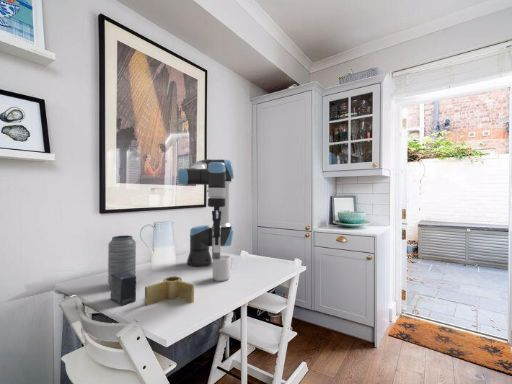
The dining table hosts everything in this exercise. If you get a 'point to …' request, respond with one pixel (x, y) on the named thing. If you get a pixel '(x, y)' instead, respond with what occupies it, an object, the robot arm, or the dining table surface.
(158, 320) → the dining table surface
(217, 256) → the pin
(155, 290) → the hinge
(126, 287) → the small box
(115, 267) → the vase
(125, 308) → the dining table surface
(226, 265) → the mug
